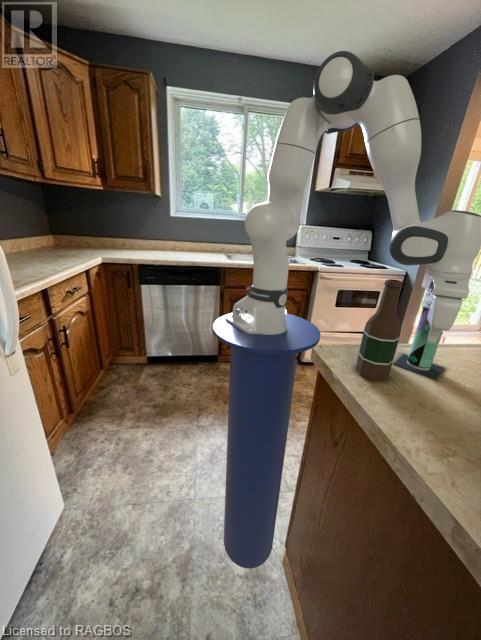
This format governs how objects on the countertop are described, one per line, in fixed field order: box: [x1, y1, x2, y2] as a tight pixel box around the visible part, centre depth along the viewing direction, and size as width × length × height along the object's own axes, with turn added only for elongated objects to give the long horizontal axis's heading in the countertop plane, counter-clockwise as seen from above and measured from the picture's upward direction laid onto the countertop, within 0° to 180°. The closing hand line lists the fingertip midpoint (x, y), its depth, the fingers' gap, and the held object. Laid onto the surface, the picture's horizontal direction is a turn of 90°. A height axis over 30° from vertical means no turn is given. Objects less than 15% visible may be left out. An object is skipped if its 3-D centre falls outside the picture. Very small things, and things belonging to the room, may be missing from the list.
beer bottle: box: [355, 278, 404, 382], centre depth 65 cm, size 8×8×24 cm
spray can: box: [407, 300, 444, 371], centre depth 70 cm, size 6×6×20 cm
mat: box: [393, 353, 445, 381], centre depth 74 cm, size 10×9×1 cm
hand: (428, 335), depth 71 cm, fingers open, 8 cm apart
